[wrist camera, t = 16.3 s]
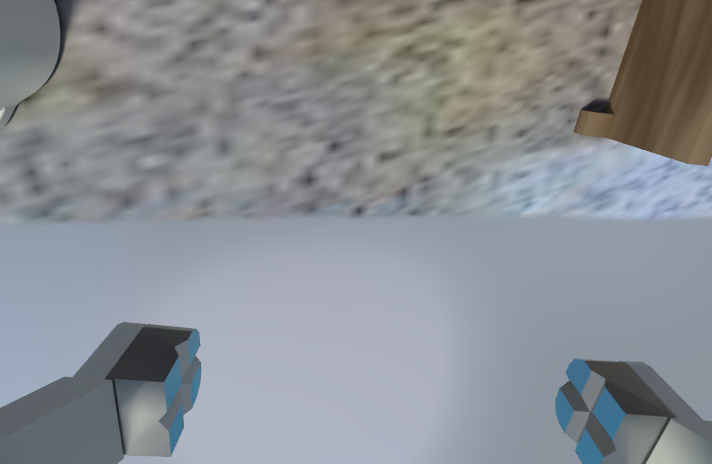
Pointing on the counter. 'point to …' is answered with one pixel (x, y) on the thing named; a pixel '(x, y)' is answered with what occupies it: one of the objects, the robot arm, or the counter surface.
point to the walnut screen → (662, 84)
